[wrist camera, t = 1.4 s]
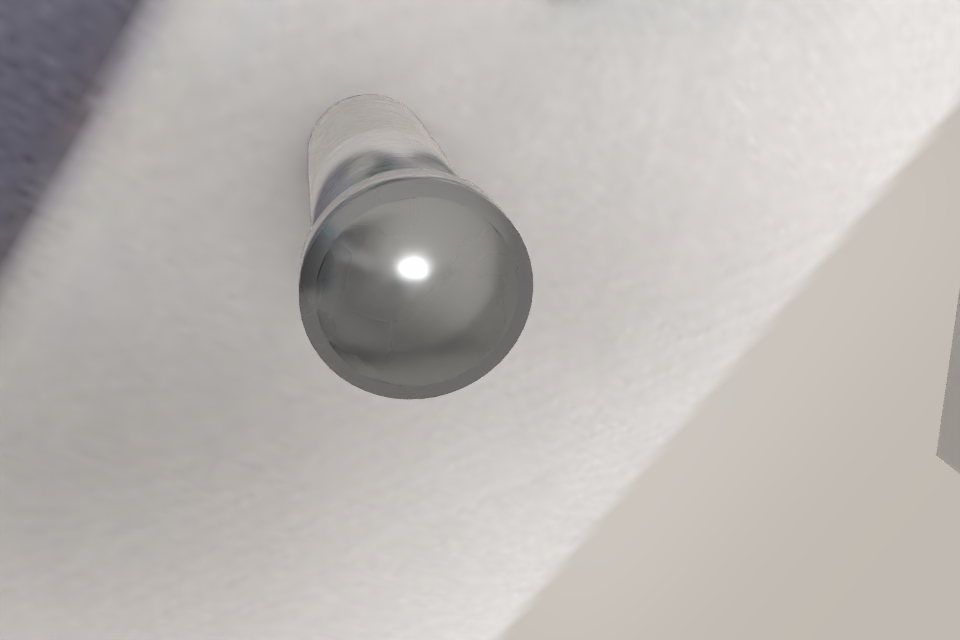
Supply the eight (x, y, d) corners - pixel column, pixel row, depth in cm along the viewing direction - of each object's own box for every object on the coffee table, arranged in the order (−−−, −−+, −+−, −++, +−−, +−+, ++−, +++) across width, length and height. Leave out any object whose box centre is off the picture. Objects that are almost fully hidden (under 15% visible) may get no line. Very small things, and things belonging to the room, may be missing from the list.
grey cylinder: (314, 235, 27) (325, 419, 17) (284, 97, 25) (274, 205, 15) (448, 211, 28) (542, 374, 17) (428, 74, 26) (521, 162, 15)
